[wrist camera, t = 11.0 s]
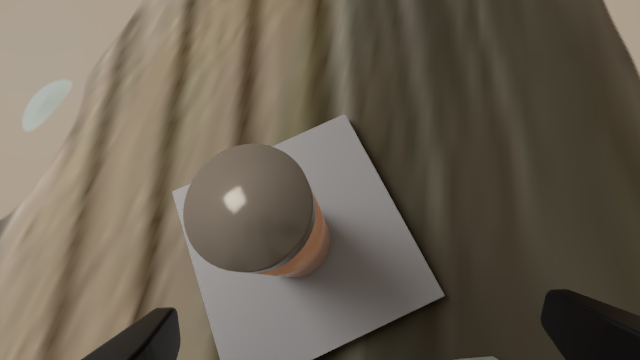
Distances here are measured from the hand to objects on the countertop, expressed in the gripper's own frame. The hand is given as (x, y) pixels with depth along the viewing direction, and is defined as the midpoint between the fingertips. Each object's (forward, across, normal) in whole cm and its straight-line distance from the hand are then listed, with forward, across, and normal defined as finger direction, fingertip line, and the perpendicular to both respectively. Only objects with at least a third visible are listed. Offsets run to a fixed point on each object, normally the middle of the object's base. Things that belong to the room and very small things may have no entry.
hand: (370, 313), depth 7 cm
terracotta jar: (+13, +2, +4) cm, 14 cm away
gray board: (+14, +2, +5) cm, 14 cm away
